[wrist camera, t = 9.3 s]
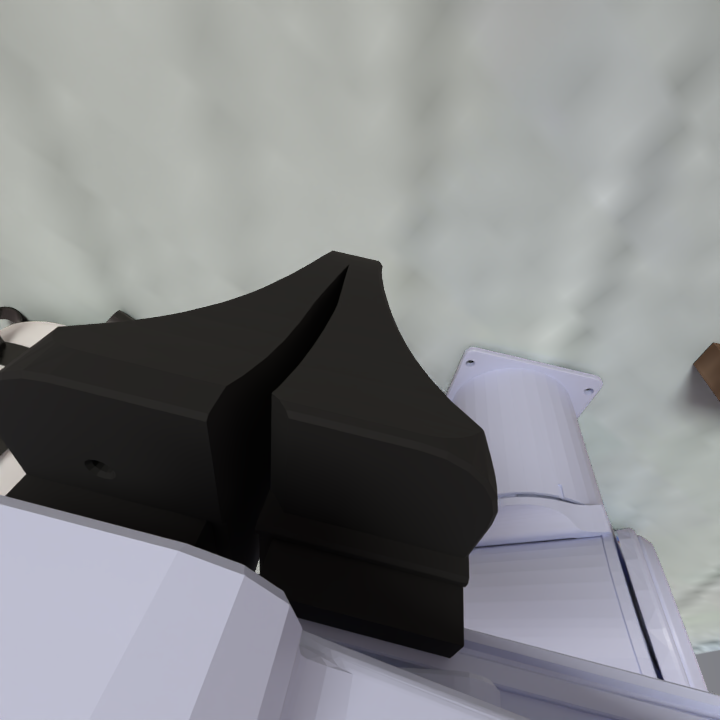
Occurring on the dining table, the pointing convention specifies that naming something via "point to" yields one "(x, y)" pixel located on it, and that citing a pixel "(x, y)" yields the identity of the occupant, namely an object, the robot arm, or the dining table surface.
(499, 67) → the dining table surface
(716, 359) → the roll holder
